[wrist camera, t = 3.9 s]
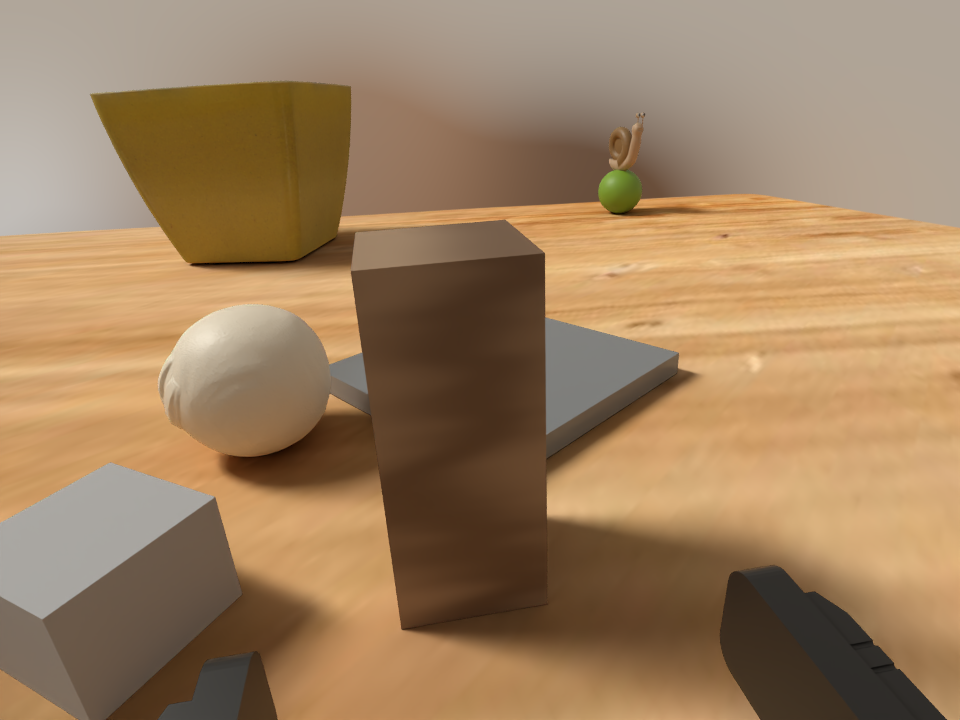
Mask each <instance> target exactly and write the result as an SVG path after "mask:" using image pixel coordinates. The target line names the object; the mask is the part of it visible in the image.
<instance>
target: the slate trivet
mask: <svg viewBox="0 0 960 720" xmlns="http://www.w3.org/2000/svg"><path fill="white" fill-rule="evenodd" d="M545 348H546V459H547V458H548V457H550V456H551V455H553V454H554V453H556V452H558V451H559V450H561V449H562V448H564V447H565V446H567V445H568V444H570V443H571V442H573V441H574V440H576V439H577V438H579V437H580V436H582V435H583V434H585V433H586V432H588V431H589V430H591V429H593V428H594V427H596V426H597V425H599V424H600V423H602V422H603V421H605V420H606V419H608V418H609V417H611V416H612V415H614V414H615V413H617V412H618V411H620V410H621V409H623V408H624V407H626V406H628V405H629V404H631V403H632V402H634V401H635V400H637V399H638V398H640V397H641V396H643V395H644V394H646V393H647V392H649V391H650V390H652V389H653V388H655V387H656V386H658V385H659V384H661V383H663V382H664V381H666V380H667V379H669V378H670V377H672V376H673V375H675V374H676V373H677V370H678V359H679V353H678V352H674V351H670V350H666V349H663V348H659V347H655V346H651V345H647V344H644V343H640V342H636V341H632V340H629V339H625V338H621V337H617V336H613V335H610V334H606V333H602V332H598V331H595V330H591V329H587V328H583V327H579V326H576V325H572V324H568V323H564V322H560V321H557V320H553V319H549V318H545ZM329 368H330V381H331V382H330V393H331V394H333V395H334V396H336V397H338V398H340V399H342V400H344V401H345V402H347V403H349V404H351V405H353V406H355V407H356V408H358V409H360V410H362V411H364V412H366V413H367V414H369V415H371V410H370V403H369V396H368V389H367V382H366V375H365V368H364V361H363V354H362V353H360V354H357V355H354V356H352V357H349V358H346V359H344V360H341V361H338V362H335V363H333V364H330V365H329Z"/></svg>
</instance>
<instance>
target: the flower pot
mask: <svg viewBox="0 0 960 720" xmlns="http://www.w3.org/2000/svg"><path fill="white" fill-rule="evenodd" d="M90 95H91V98H92V100H93V103H94V105H95V108H96V110H97V112H98V115H99V117H100V119H101V121H102V123H103V125H104V127H105V129H106V131H107V134H108V136H109V138H110V140H111V142H112V144H113V146H114V148H115V150H116V152H117V154H118V155H119V158H120V159H121V161H122V163H123V165H124V167H125V169H126V170H127V172H128V174H129V176H130V178H131V180H132V181H133V183H134V185H135V187H136V188H137V190H138V191H139V193H140V195H141V197H142V198H143V200H144V202H145V203H146V205H147V207H148V208H149V210H150V211H151V213H152V214H153V216H154V217H155V218H156V220H157V222H158V223H159V225H160V226H161V228H162V229H163V231H164V232H165V234H166V235H167V237H168V238H169V240H170V241H171V242H172V244H173V245H174V247H175V248H176V249H177V251H178V252H179V253H180V255H181V256H182V257H183V259H184V260H185V261H186V262H187V263H221V262H266V261H292V260H297V259H300V258H302V257H303V256H305V255H307V254H308V253H310V252H312V251H313V250H315V249H317V248H318V247H320V246H322V245H323V244H325V243H327V242H328V241H330V240H332V239H333V238H335V237H336V236H337V232H338V227H339V223H340V218H341V212H342V206H343V200H344V193H345V186H346V178H347V168H348V160H349V147H350V128H351V127H350V126H351V86H345V85H337V84H325V83H312V82H298V81H297V82H296V81H270V82H269V81H268V82H253V83H235V84H220V85H204V86H190V87H174V88H160V89H146V90H132V91H119V92H106V93H92V94H90Z"/></svg>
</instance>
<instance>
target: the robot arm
mask: <svg viewBox="0 0 960 720" xmlns="http://www.w3.org/2000/svg"><path fill="white" fill-rule="evenodd" d="M720 643H721V649H722V653H723V656H724V659H725V662H726V664H727V666H728V668H729V670H730V672H731V674H732V675H733V677H734V679H735V680H736V682H737V683H738V685H739V686H740V688H741V690H742V691H743V693H744V694H745V696H746V698H747V699H748V701H749V702H750V704H751V705H752V707H753V709H754V710H755V712H756V713H757V715H758V717H759V718H760V720H947V719H946V718H945V717H944V716H943V715H942V714H941V713H940V712H939V711H938V710H937V709H936V708H935V706H934V705H933V704H932V703H931V702H930V701H929V700H928V699H927V698H926V697H925V696H924V695H923V694H922V693H921V691H920V690H919V689H918V688H917V687H916V686H915V685H914V684H913V683H912V682H911V681H910V680H909V679H908V678H907V676H906V675H905V674H904V673H903V672H902V671H901V670H900V669H896V668H895V666H894V663H893V661H892V660H891V659H890V658H889V657H888V656H887V655H886V654H885V653H884V652H883V651H882V650H881V649H880V648H879V646H875V645H874V644H873V640H872V639H871V638H870V637H869V636H868V635H867V634H866V633H865V631H864V630H863V629H862V628H861V627H860V626H859V625H858V624H857V623H856V622H855V621H854V620H853V619H852V618H851V616H850V615H849V614H848V613H847V612H845V611H844V610H842V609H841V608H839V607H838V606H836V605H834V604H833V603H831V602H830V601H828V600H827V599H825V598H824V597H822V596H821V595H819V594H818V593H816V592H815V591H814V592H808V593H804V592H803V591H802V590H801V589H800V588H799V586H798V585H797V584H796V583H795V582H794V581H793V580H792V579H791V577H790V576H789V575H788V574H787V573H786V572H785V571H784V570H783V569H782V568H780V567H778V566H776V565H770V566H764V567H759V568H753V569H747V570H741V571H735V572H733V573H731V575H730V577H729V580H728V586H727V592H726V598H725V604H724V611H723V617H722V623H721V630H720ZM158 720H278V719H277V714H276V710H275V706H274V703H273V699H272V695H271V692H270V688H269V685H268V681H267V677H266V674H265V670H264V667H263V663H262V660H261V657H260V654H259V653H258V652H257V651H255V652H249V653H243V654H237V655H231V656H226V657H220V658H214V659H209V660H207V661H206V662H205V663H204V665H203V667H202V669H201V672H200V675H199V678H198V682H197V685H196V688H195V692H194V695H193V698H192V701H186V702H181V703H175V704H170V705H168V706H167V708H166V709H165V710H164V712H163V713H162V714H161V716H160V717H159V719H158Z"/></svg>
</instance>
